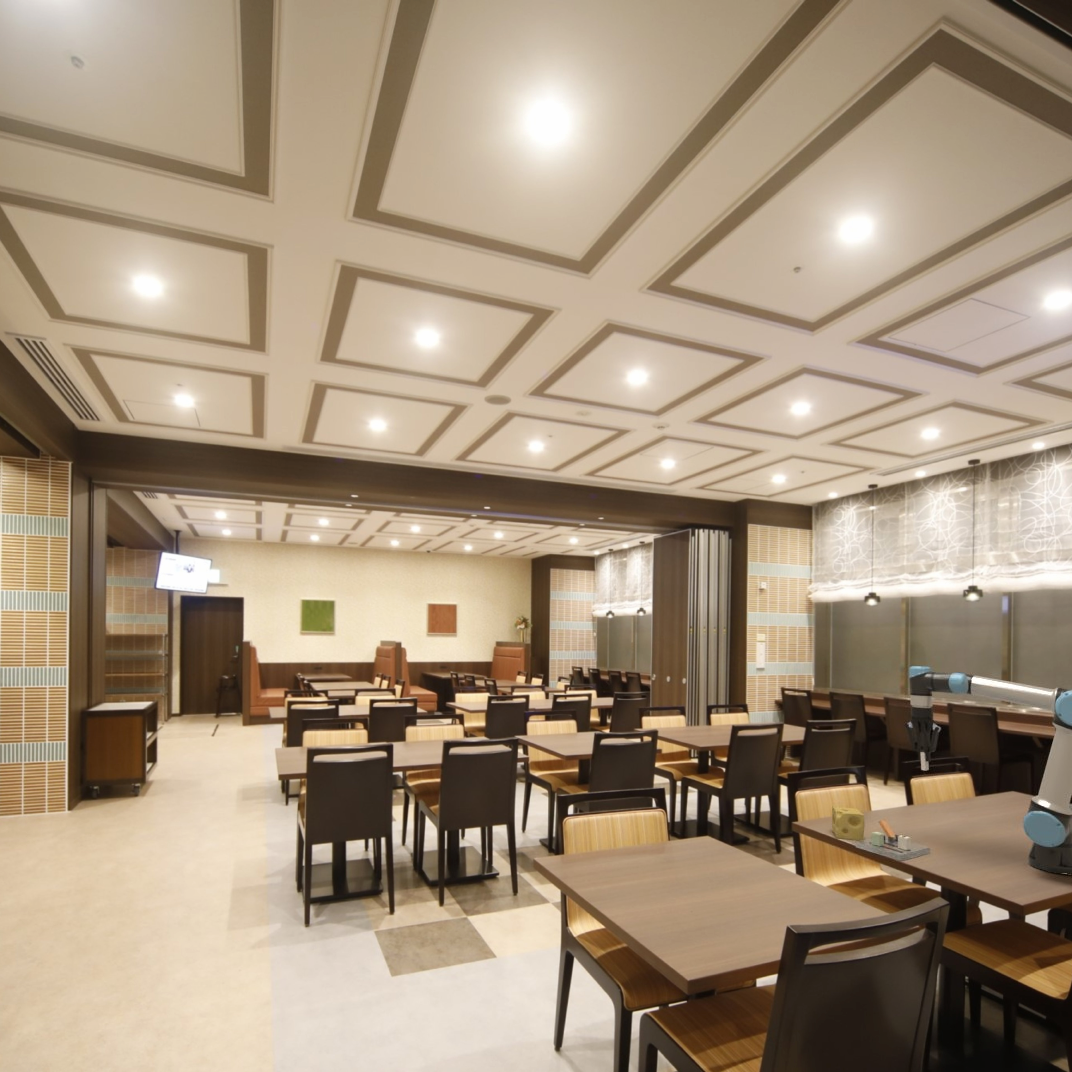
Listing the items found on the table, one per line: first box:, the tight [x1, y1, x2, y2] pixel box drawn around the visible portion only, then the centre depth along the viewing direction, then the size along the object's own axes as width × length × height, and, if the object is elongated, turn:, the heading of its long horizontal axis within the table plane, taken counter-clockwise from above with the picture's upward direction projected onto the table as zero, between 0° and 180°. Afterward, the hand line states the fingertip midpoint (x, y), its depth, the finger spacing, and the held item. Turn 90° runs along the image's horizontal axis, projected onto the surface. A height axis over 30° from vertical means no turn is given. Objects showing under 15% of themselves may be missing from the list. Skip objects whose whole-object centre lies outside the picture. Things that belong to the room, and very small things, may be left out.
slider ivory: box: [898, 835, 911, 850], centre depth 253 cm, size 3×3×4 cm
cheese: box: [831, 806, 866, 841], centre depth 274 cm, size 10×11×10 cm
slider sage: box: [870, 831, 885, 846], centre depth 257 cm, size 3×3×4 cm
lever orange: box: [878, 819, 897, 841], centre depth 265 cm, size 1×3×8 cm
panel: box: [854, 834, 931, 862], centre depth 258 cm, size 17×20×4 cm
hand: (925, 769), depth 266 cm, fingers closed
